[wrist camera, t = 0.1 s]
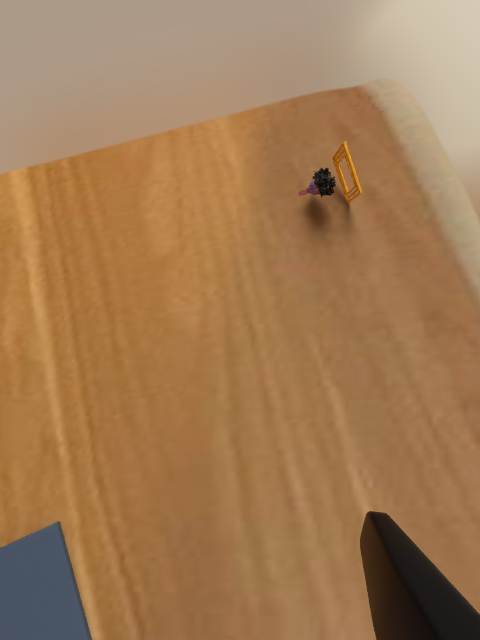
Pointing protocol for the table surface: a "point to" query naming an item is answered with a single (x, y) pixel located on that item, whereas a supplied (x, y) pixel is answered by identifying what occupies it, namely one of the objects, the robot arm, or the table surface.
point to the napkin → (40, 590)
